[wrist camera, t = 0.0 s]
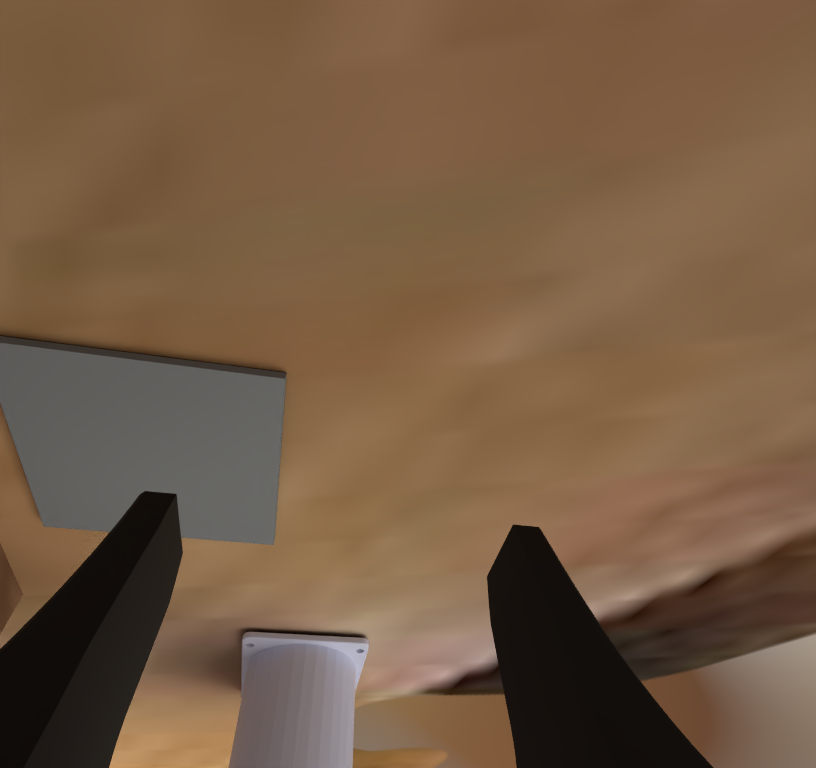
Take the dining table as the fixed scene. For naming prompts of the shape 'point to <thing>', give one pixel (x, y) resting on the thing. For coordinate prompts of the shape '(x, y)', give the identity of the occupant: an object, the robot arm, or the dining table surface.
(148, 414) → the mat
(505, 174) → the dining table surface
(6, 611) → the walnut cube
